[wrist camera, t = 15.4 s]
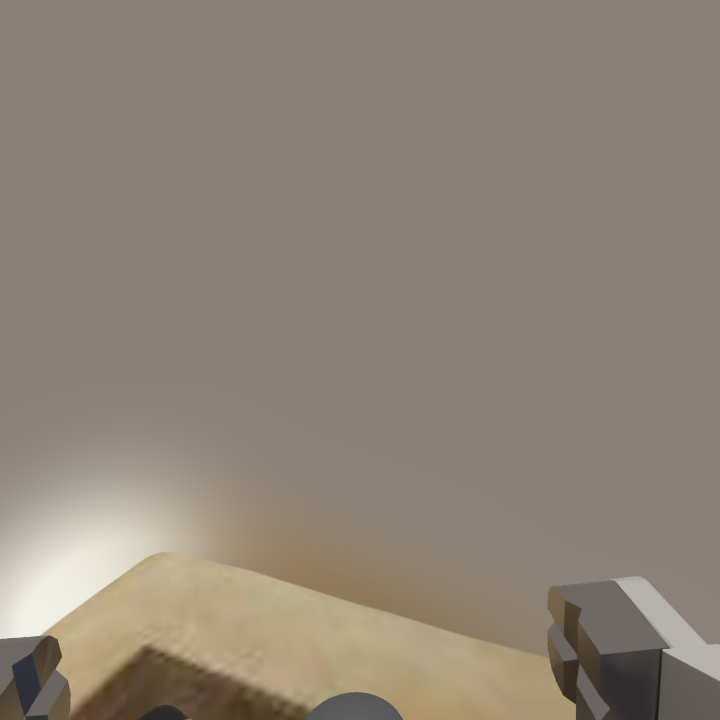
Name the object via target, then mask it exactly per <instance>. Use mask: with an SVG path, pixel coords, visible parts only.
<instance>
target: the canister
mask: <svg viewBox="0 0 720 720" xmlns="http://www.w3.org/2000/svg"><path fill="white" fill-rule="evenodd" d="M305 720H403V719H402V717H401V716H400V714H399V713H398V711H397V710H396V709H395V708H394V707H393V706H392V705H391V704H390V703H388V702H387V701H385V700H384V699H382V698H380V697H377V696H375V695H372V694H368V693H360V692H353V693H345V694H340V695H337V696H334V697H332V698H329V699H328V700H326V701H324V702H322V703H321V704H319V705H318V706H317V707H316V708H315V709H313V711H312V712H311V713H310V714H309V715H308V716H307V718H306V719H305Z"/></svg>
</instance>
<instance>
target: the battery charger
mask: <svg viewBox="0 0 720 720" xmlns="http://www.w3.org/2000/svg"><path fill="white" fill-rule="evenodd" d="M138 720H191V719H188V718H187V717H186V716H185V715H184V714H183V713H182V712H181V711H180V710H179V709H177V708H176V707H174V706H170V705H162V706H158V707H155V708H154V709H152V710H151V711H149V712H147V713H146V714H144V715H143V716H142V717H140V718H139V719H138Z"/></svg>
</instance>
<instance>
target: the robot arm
mask: <svg viewBox="0 0 720 720" xmlns="http://www.w3.org/2000/svg"><path fill="white" fill-rule="evenodd" d="M548 610H549V611H550V613H551V615H552V617H553V618H554V620H555V622H554V623H553V625H552V626H551V627H550V629H549V630H548V633H547V636H548V652H549V658H550V663H551V668H552V671H553V673H554V676H555V679H556V682H557V684H558V686H559V688H560V690H561V692H562V694H563V696H565V697H566V698H568V699H569V700H570V701H572V702H573V703H575V704H576V720H720V645H718V644H712V645H707V644H706V643H705V642H704V641H703V640H702V639H701V637H700V636H699V635H698V634H697V633H696V632H695V631H694V630H693V629H692V628H691V627H690V626H689V625H688V624H687V623H686V622H685V620H683V618H682V617H681V616H680V615H678V613H677V612H676V611H675V610H674V609H673V608H672V607H671V606H670V605H669V604H668V603H667V602H666V600H665V599H664V598H663V597H662V596H661V595H660V594H659V593H658V592H657V591H656V590H655V589H654V588H653V587H652V586H651V585H650V584H649V582H648V581H647V580H646V579H644V578H642V577H640V576H633V577H625V578H617V579H609V580H608V581H601V582H591V583H582V584H572V585H562V586H553V587H550V589H549V593H548ZM61 658H62V654H61V650H60V647H59V643H58V640H57V639H56V638H54V637H52V636H50V635H49V636H35V637H22V638H8V639H0V720H68V717H69V713H70V689H69V684H68V680H67V679H66V678H65V677H63V676H62V675H61V674H60V673H59V672H58V671H57V670H56V667H57V665H58V663H59V662H60V660H61Z"/></svg>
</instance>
